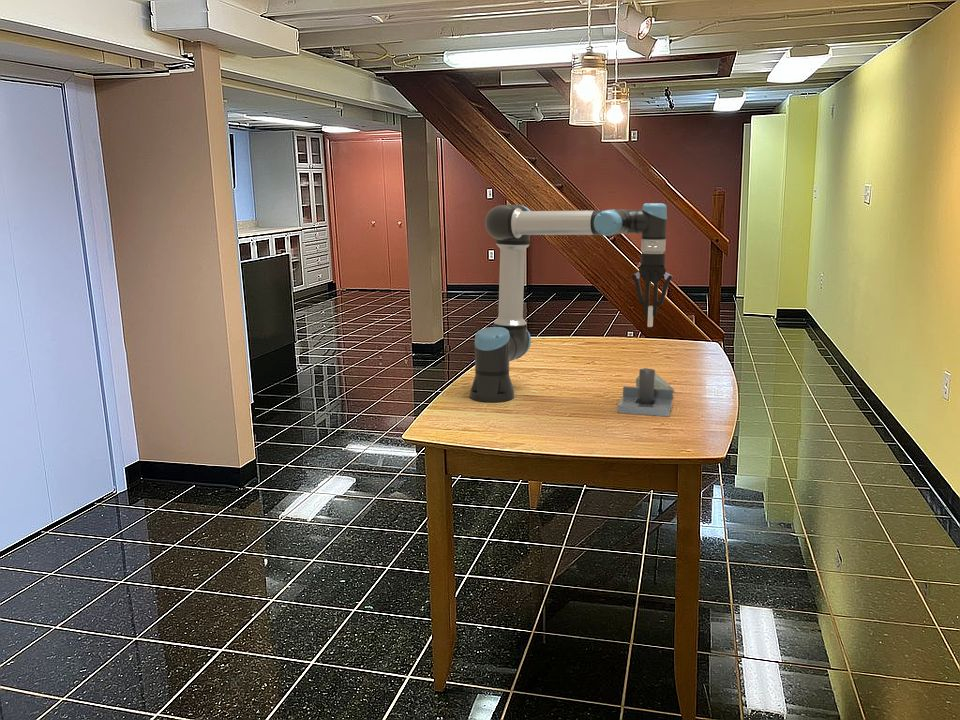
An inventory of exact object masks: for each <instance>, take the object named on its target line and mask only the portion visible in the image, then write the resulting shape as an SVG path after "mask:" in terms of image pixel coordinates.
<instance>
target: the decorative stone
mask: <svg viewBox="0 0 960 720" xmlns="http://www.w3.org/2000/svg"><path fill="white" fill-rule="evenodd" d="M644 368H645V367H643V368H642V369H644ZM635 385H636V386H635V387H639V375H637V376H636V378H635ZM654 388H659V389H673V394H674V393H675V389H674V387H673V386H671V385H670V384H669V383H668V382H667V381H666V380H664V379H663V378H662V377H661V376H660V375H658V374H657V373H656V372H655V379H654Z"/></svg>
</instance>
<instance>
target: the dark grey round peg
mask: <svg viewBox="0 0 960 720" xmlns="http://www.w3.org/2000/svg"><path fill="white" fill-rule="evenodd" d="M643 368H644V369H643ZM643 368H640V369H639V373H638V374H639V375H638V376H639V398H638V403H639V404H653V403H654V379H655V373H656V370H655V369H653V368H648V367H643Z"/></svg>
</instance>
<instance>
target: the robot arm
mask: <svg viewBox="0 0 960 720" xmlns="http://www.w3.org/2000/svg"><path fill="white" fill-rule="evenodd" d="M667 209H668V207H667V204H665V203H657V202H655V203H653V202H651V203H650V202H649V203H647V202H646V203H644V204H642V208H640V209H624V208H623V209H620V208H614V209H604V210H600V209H599V210H530V208H528V207H527V206H525V205H521V204H505V205H504V204H502V205H501V204H499V205H497V206H496V205H495V206H494V207H493V208H491V209H490V210H489V211H488V212H487V214H486V215H485V216H486V217H485V219H484V226H485V229H486V232H487V233H488V235H489V236H490V237H492V238H493V239H495V245H496V246H497V248H499V279H498V280H499V281H498V283H499V287H498V316H497V318H496V320H494V321H493V326H490V327H484V328H481V329H479V330H477V331H476V333H475V337H474V377H473V381H472V384H471V388H470V389H469V390H470V391H469V392H470V393H469V397H470V399H471V400H474V401H477V402H484V403H500V402H507V401H508V402H509V401H510V400H513V399H514V398H515V389H514V386H513V383H512V380H511V376H510V362H512V361H514V360H518V359H520V358H522V357H523V356H524V355H526V354H527V352H528V351H529V350H530V347H531V344H532V336H531V334H530V332H529V331H528V329H527V327H528V324H527V323H528V322H527V321H526V320H525V319H524V318H523V317H524V290H525V287H524V286H525V265H526V264H525V262H526V261H525V260H526V259H525V258H526V250H527V248H529V246H530V242H531V236H559V235H560V236H589V235H590V236H604V237H605V236H606V237H607V236H608V237H609V236H611V237H612V236H614V235H621V234H641V244H640V245H641V247H640V249H641V250H640V251H641V252H642V253H641V254H640V267H639V269H638V271H637V272H636V273H633V274H632V275H631V278H632V279H633V282H634V284H635V290H636V294H637V299H638V304H640V305H642V306H644V317H647V328H652V327H653V325H654V317H657V315H658V306H662V305H663V303H664V301H665V298H666V294H667V290H668V288H669V284H670V281H671V280H672V279H673V278H674V277H673V274H670V273H668V272H667V269H666V266H665V265H666V254H665V252H666V245H667V244H666V243H667V241H666V240H667V236H666V235H667V220H668V216H667V215H668V214H667V212H668V211H667ZM641 277H642V279H643V281H644V282H645V283H644V284H645V285H644V286H645V290H644V292H645V293H644V296H643V292H642V287H641V282H640V278H641ZM663 277H664V280H665V281H664V282H663V287H662V290H661V294H660V297H658V296H659V282H660V281H661V280H662V279H663ZM651 283H653V290H652V291H653V292H652V293H653V295H652V305H650V294H651V293H650V292H651V291H650V290H651ZM658 299H659V300H658Z"/></svg>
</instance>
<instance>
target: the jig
mask: <svg viewBox="0 0 960 720" xmlns="http://www.w3.org/2000/svg"><path fill="white" fill-rule="evenodd" d="M673 389H674V388H673ZM673 389H659V388H654V403H653V404H639V403H638V398H639V387H636V386H628V385H623V387H622V397H621V399H620V401H619V402H618V404H617V414H627V415H629V414H630V415H631V414H632V415H640V416H641V415H643V416H654V415H655V416H656V417H667V418H668V417H670V416H671V415H670V414H671V412H672V408H673V402H674V401H673V397H674V396H673V395H674V393H673ZM655 416H654V417H655Z"/></svg>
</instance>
